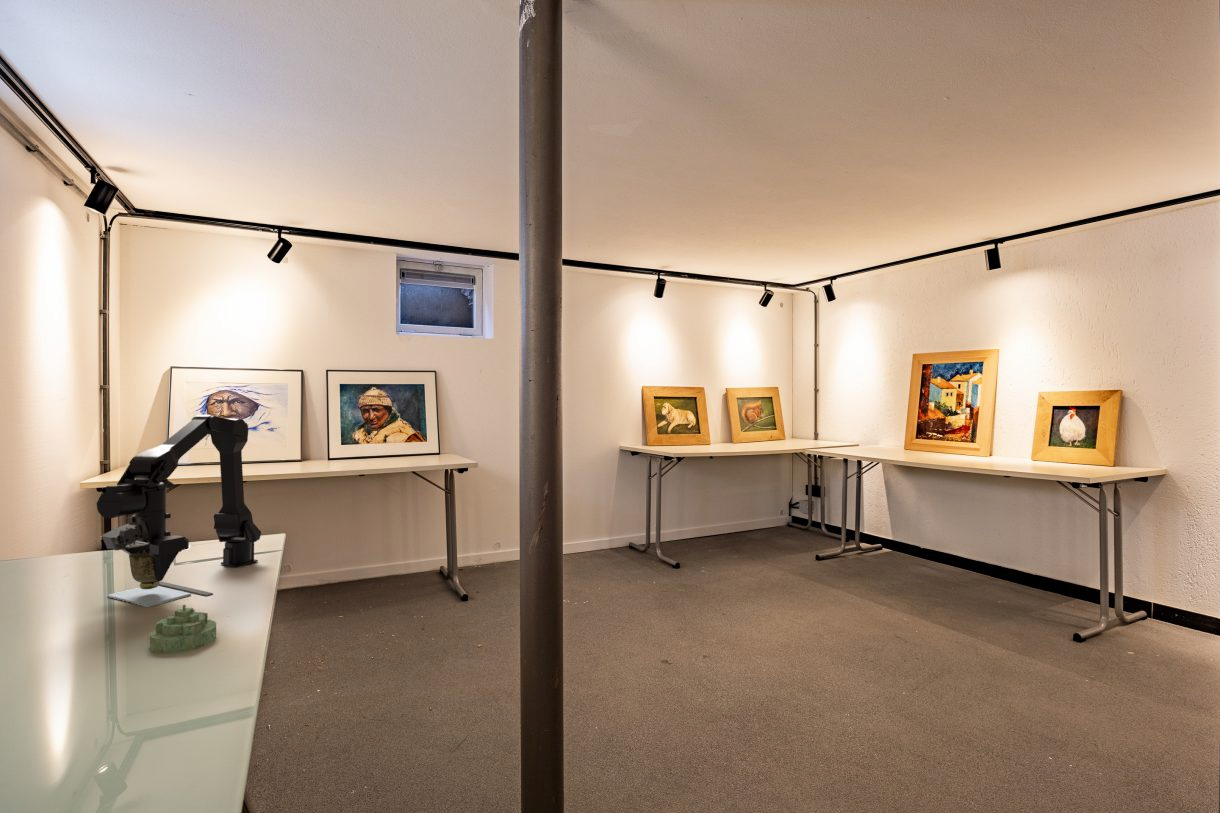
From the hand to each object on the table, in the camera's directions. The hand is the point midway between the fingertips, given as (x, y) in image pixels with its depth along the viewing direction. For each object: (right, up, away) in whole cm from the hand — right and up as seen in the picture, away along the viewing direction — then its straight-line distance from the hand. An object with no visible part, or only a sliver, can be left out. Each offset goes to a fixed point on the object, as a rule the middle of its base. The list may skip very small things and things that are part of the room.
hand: (150, 578), depth 136 cm
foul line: (+3, -4, +6) cm, 7 cm away
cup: (0, -2, 0) cm, 2 cm away
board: (0, -4, 0) cm, 4 cm away
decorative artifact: (+25, -5, -25) cm, 36 cm away
